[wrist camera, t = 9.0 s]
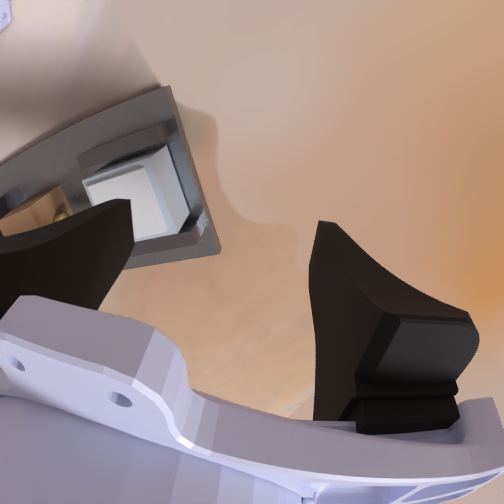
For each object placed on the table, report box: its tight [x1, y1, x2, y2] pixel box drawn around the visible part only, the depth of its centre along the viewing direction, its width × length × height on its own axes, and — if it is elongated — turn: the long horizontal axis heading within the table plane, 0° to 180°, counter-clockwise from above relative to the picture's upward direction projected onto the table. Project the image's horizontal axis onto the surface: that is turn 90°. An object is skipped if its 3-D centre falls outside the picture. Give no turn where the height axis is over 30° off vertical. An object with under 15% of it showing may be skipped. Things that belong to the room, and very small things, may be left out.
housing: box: [0, 185, 73, 237], centre depth 21 cm, size 4×6×4 cm
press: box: [0, 86, 221, 270], centre depth 21 cm, size 12×20×4 cm, turn 104°
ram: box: [82, 145, 190, 242], centre depth 19 cm, size 5×5×3 cm
